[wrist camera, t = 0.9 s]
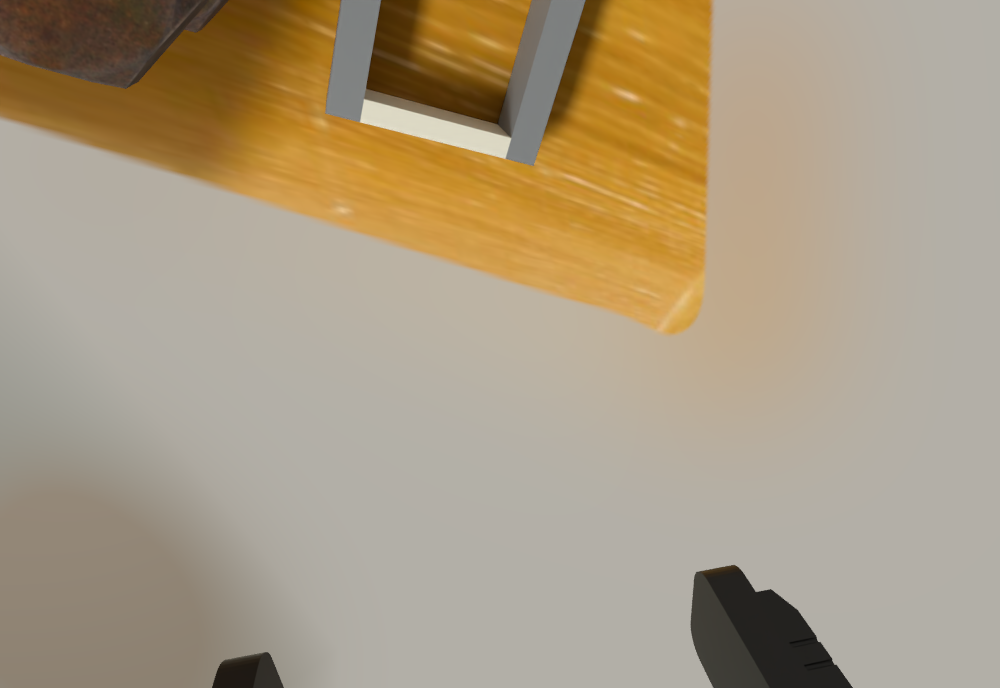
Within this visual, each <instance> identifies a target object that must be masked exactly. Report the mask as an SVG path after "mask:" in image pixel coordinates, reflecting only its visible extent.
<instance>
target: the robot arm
mask: <svg viewBox="0 0 1000 688" xmlns="http://www.w3.org/2000/svg"><path fill="white" fill-rule="evenodd" d="M691 633H692V638H693V642H694V646H695V649H696V652H697V654H698V657H699V659H700V661H701V663H702V665H703V667H704V669H705V672H706V673H707V676H708V678H709V680H710V682H711V684H712V686H713V687H714V688H853V687H852V686H851V685H850V683H849V682H848V680H847V679H846V678H845V676H844V675H843V673H842V672H841V671H840V669H839V668H838V666H837V665H834V663H833V661H832V658H831V657H830V655H829V654H828V652H827V651H826V649H825V648H824V647H823V645H822V644H821V642H818V641H817V637H816V635H815V634H814V633H813V631H812V630H811V628H810V627H809V626H808V624H807V623H806V621H805V620H804V618H803V617H802V616H801V614H800V613H799V611H798V610H797V609H795V608H794V607H793V606H792V605H790V604H789V603H788V602H787V601H785V600H784V599H783V598H781V597H780V596H779V595H778V594H776V593H775V592H774V591H773V590H771V589H770V590H765V591H760V592H755V590H754V589H753V587H752V585H751V584H750V582H749V581H748V579H747V578H746V576H745V575H744V573H743V572H742V571H741V570H740V569H739V568H738V567H737V566H735V565H731V566H726V567H720V568H715V569H710V570H705V571H700V572H696V574H695V577H694V588H693V600H692V613H691ZM212 688H284V687H283V684H282V682H281V680H280V677H279V675H278V672H277V670H276V667H275V665H274V662H273V660H272V657H271V655H270V654H269V653H268V652H265V653H259V654H254V655H249V656H244V657H238V658H233V659H228V660H224V661H223V662H222V663H221V664H220V666H219V668H218V670H217V673H216V676H215V680H214V683H213V686H212Z"/></svg>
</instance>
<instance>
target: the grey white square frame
mask: <svg viewBox="0 0 1000 688" xmlns="http://www.w3.org/2000/svg"><path fill="white" fill-rule="evenodd" d="M585 1H586V0H532V2H531V5H530V9H529V13H528V16H527V20H526V24H525V27H524V31H523V34H522V38H521V42H520V45H519V49H518V52H517V56H516V60H515V63H514V67H513V70H512V74H511V78H510V81H509V85H508V88H507V92H506V96H505V99H504V103H503V107H502V110H501V114H500V117H499V121H498V124H494V123H491V122H487V121H483V120H479V119H476V118H472V117H468V116H465V115H461V114H457V113H454V112H450V111H446V110H443V109H439V108H435V107H431V106H428V105H424V104H420V103H417V102H413V101H409V100H406V99H402V98H398V97H395V96H391V95H387V94H384V93H380V92H376V91H372V90H369V89H366V84H367V79H368V73H369V67H370V61H371V55H372V50H373V44H374V38H375V32H376V26H377V20H378V15H379V9H380V3H381V0H341V3H340V10H339V17H338V24H337V31H336V38H335V45H334V52H333V59H332V66H331V73H330V80H329V87H328V93H327V100H326V114H330V115H334V116H338V117H342V118H346V119H350V120H353V121H357V122H361V123H365V124H369V125H373V126H377V127H381V128H385V129H389V130H393V131H397V132H401V133H405V134H409V135H413V136H417V137H421V138H425V139H429V140H433V141H437V142H441V143H445V144H449V145H453V146H457V147H461V148H465V149H469V150H473V151H477V152H481V153H485V154H489V155H493V156H497V157H501V158H505V159H509V160H513V161H517V162H521V163H524V164H528V165H532V166H534V163H535V160H536V156H537V153H538V150H539V147H540V144H541V141H542V137H543V134H544V131H545V128H546V125H547V121H548V118H549V115H550V112H551V109H552V106H553V102H554V99H555V96H556V93H557V90H558V86H559V83H560V80H561V77H562V74H563V71H564V67H565V64H566V61H567V58H568V55H569V51H570V48H571V45H572V42H573V39H574V36H575V32H576V29H577V26H578V23H579V20H580V16H581V13H582V10H583V7H584V4H585Z"/></svg>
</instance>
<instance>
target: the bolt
mask: <svg viewBox="0 0 1000 688" xmlns="http://www.w3.org/2000/svg"><path fill="white" fill-rule="evenodd" d="M227 1H228V0H0V55H2V56H5V57H8V58H11V59H13V60H16V61H19V62H22V63H25V64H28V65H31V66H35V67H39V68H42V69H46V70H50V71H54V72H57V73H61V74H65V75H68V76H72V77H76V78H80V79H83V80H87V81H91V82H95V83H100V84H105V85H110V86H115V87H120V88H125V89H126V88H128V87H130V86H131V85H133V84H135V83H137V82H138V81H139V80H140V79H141V78H142V77H143V76H144V75H145V73H146V72H147V71H148V70H149V69H150V68H151V67H152V65H153V64H154V63H155V62H156V61H157V60H158V59H159V57H160V56H161V55H162V54H163V53H164V52H165V51H166V49H167V48H168V47H169V46H170V45H171V44H172V43H173V41H174V40H175V39H176V38H177V37H178V36H179V35H180V33H181V32H182V31H183V30H184V29H185V30H189V31H192V32H198V31H200V30H202V28H203V27H204V26H205V25H206V24H207V23H208V22H209V21H210V20H211V19H212V18H213V17H214V16H215V15H216V14H217V13H218V11H219V10H220V9H221V8H222V7H223V6H224V5H225V4H226V2H227Z"/></svg>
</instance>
